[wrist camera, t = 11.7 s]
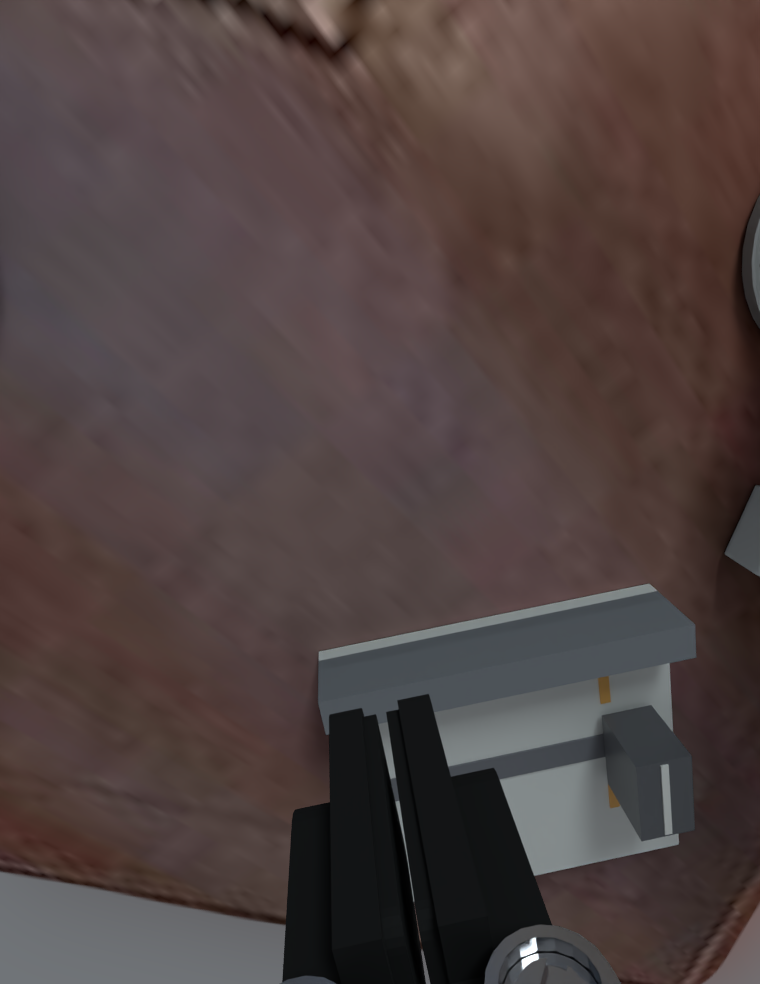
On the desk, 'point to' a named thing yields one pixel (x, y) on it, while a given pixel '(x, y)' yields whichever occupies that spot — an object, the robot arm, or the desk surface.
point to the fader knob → (649, 772)
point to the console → (529, 707)
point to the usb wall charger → (747, 536)
